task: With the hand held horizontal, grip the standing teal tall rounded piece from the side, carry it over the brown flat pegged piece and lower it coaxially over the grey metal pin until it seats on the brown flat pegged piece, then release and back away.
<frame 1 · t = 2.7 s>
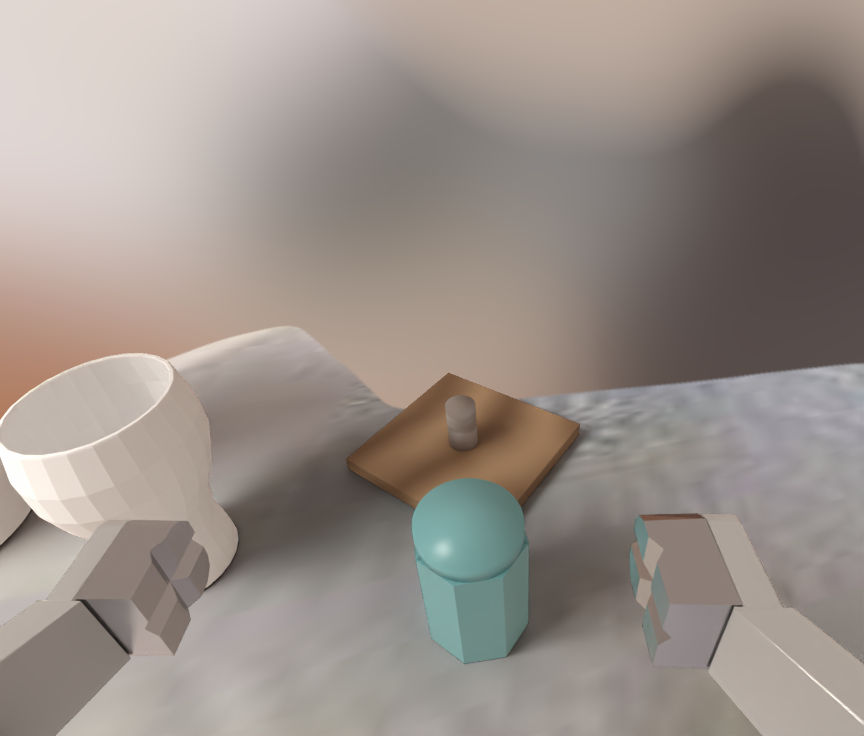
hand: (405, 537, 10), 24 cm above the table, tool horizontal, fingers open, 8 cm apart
teal tall rounded piece: (476, 611, 33), on the table
brown flat pegged piece: (464, 451, 45), on the table
cup: (186, 557, 39), on the table
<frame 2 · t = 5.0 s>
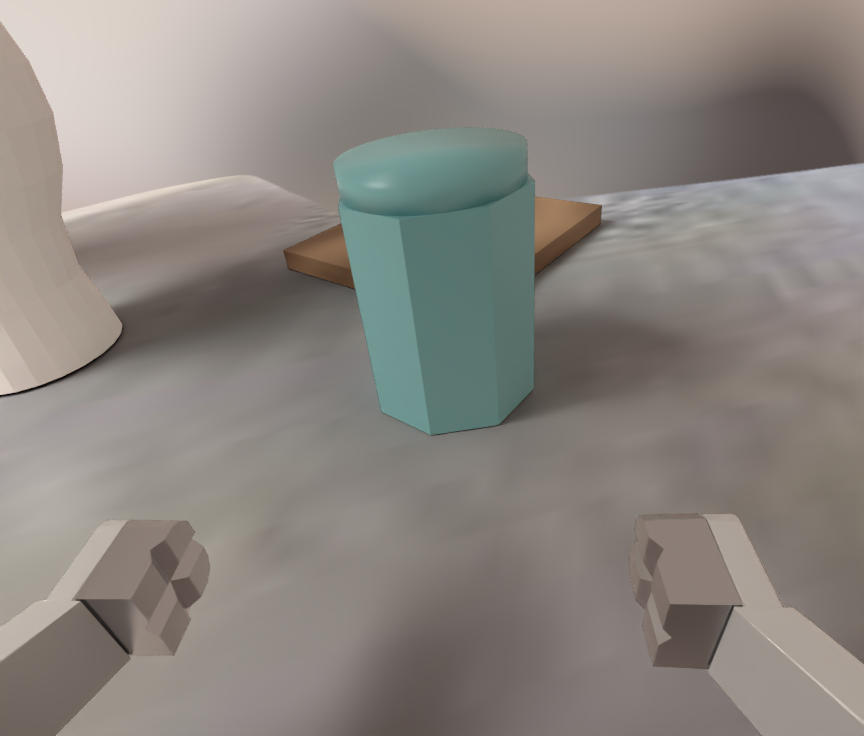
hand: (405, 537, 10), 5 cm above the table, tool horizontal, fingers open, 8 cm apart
teal tall rounded piece: (453, 381, 22), on the table
brown flat pegged piece: (445, 246, 33), on the table
cup: (45, 355, 28), on the table
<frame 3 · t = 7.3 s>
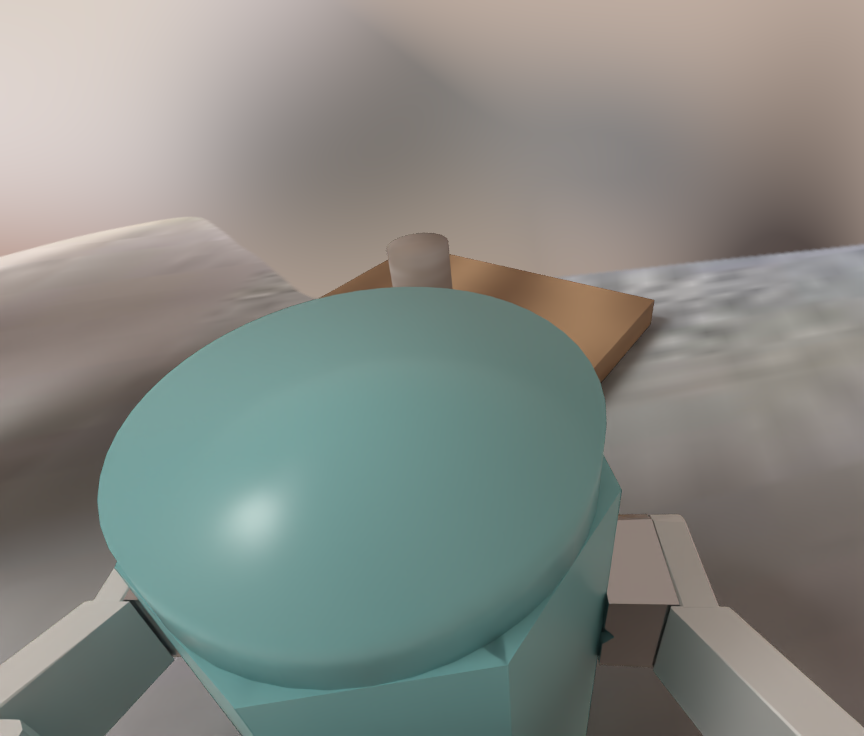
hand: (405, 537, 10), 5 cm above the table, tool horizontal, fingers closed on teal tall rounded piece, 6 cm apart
teal tall rounded piece: (432, 711, 12), on the table, touching gripper
brown flat pegged piece: (431, 355, 23), on the table
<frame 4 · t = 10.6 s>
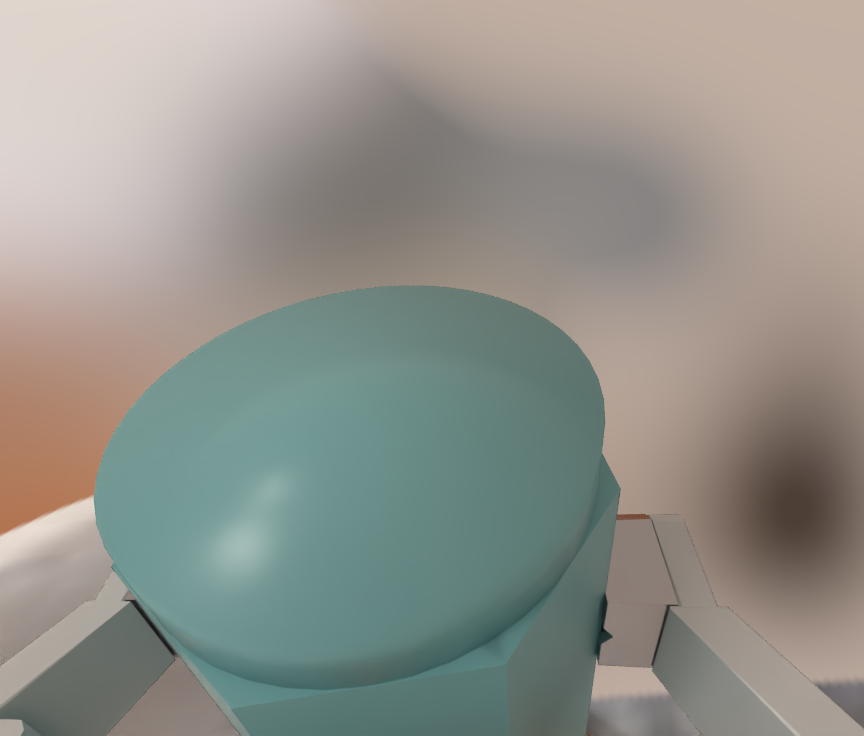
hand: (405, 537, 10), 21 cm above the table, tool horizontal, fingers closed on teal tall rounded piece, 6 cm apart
teal tall rounded piece: (431, 710, 12), point 16 cm above the table, touching gripper
when the fingers open (7 cm above the table, at t = 13.7 s): teal tall rounded piece drops 1 cm, resting on brown flat pegged piece.
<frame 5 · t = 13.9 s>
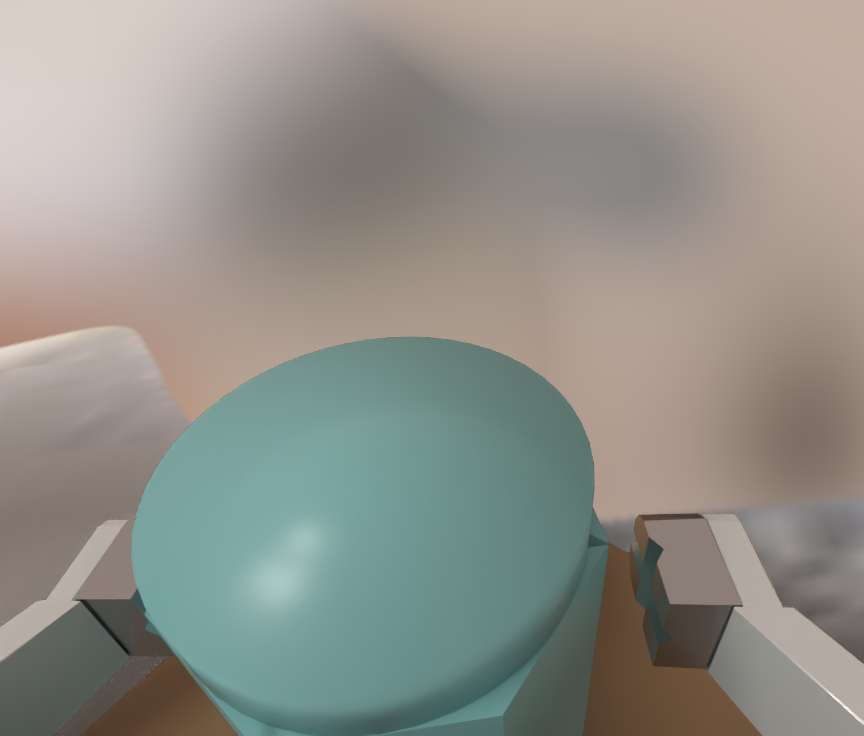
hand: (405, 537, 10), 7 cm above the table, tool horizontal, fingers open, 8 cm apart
teal tall rounded piece: (434, 730, 12), point 1 cm above the table, touching brown flat pegged piece
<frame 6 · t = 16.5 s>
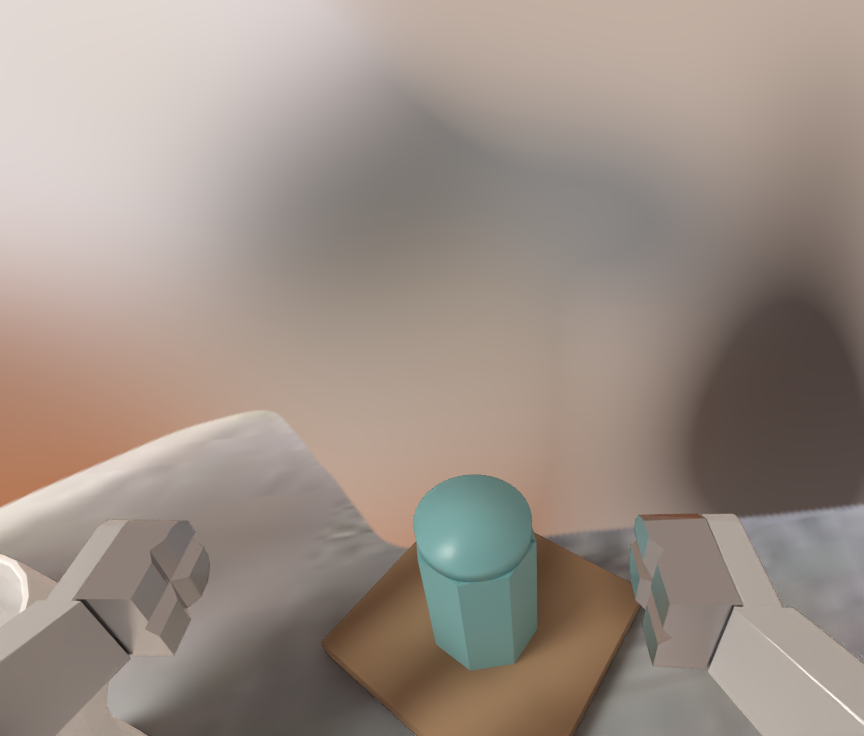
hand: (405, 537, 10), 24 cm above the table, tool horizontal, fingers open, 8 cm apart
teal tall rounded piece: (483, 616, 32), point 1 cm above the table, touching brown flat pegged piece
brown flat pegged piece: (484, 627, 33), on the table
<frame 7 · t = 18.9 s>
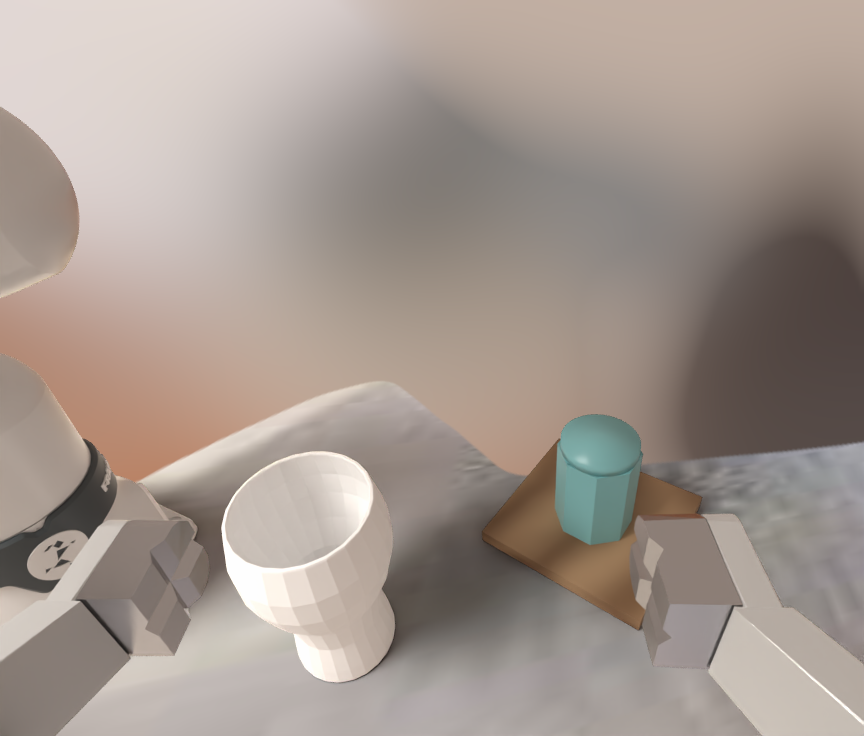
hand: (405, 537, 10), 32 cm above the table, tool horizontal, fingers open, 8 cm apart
teal tall rounded piece: (592, 514, 47), point 1 cm above the table, touching brown flat pegged piece
brown flat pegged piece: (591, 522, 47), on the table
cup: (347, 632, 42), on the table
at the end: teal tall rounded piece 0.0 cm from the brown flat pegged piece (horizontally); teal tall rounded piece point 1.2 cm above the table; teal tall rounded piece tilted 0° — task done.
